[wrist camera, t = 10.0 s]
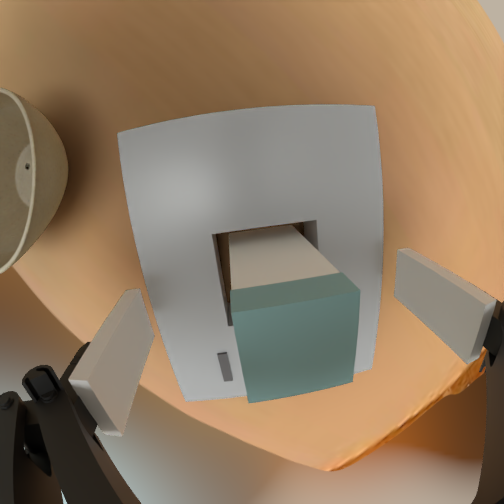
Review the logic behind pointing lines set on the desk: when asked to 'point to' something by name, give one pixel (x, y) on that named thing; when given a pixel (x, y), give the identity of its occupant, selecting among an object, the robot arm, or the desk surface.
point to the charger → (290, 314)
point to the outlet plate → (249, 218)
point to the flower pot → (27, 176)
